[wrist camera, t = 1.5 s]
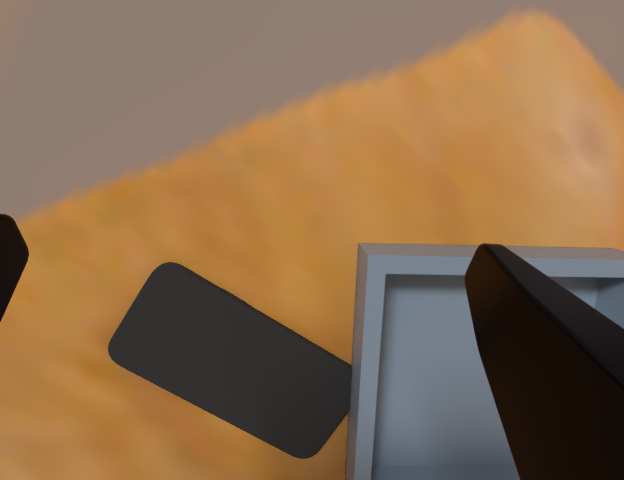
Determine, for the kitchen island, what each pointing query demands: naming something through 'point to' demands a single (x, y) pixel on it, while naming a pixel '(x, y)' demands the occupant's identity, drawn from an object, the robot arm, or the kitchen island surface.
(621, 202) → the kitchen island surface
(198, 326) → the phone
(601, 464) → the robot arm
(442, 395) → the tray
